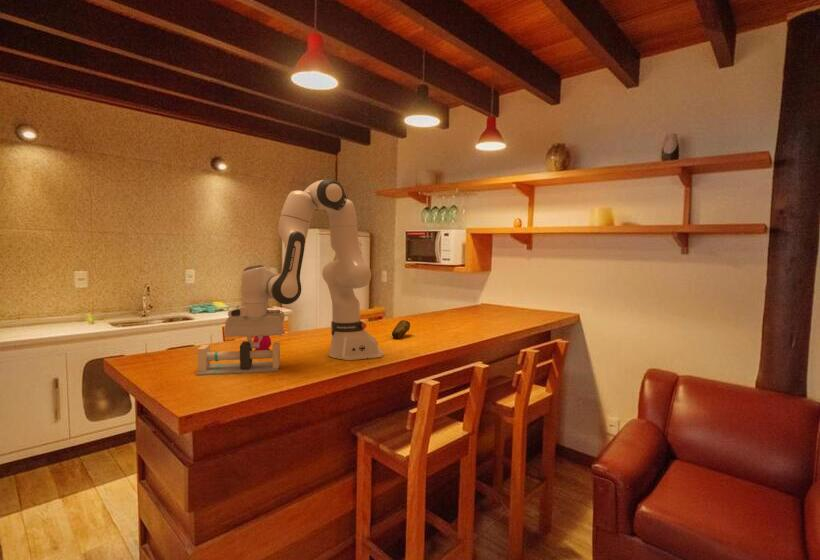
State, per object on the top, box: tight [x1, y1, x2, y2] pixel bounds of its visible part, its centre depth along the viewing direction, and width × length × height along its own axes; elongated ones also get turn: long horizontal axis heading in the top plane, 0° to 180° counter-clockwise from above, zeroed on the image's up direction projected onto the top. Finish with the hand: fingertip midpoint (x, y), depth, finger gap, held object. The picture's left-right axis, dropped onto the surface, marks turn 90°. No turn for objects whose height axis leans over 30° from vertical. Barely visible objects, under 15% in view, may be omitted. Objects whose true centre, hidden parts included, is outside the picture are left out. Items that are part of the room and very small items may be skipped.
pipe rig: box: [195, 341, 281, 376], centre depth 159 cm, size 27×12×9 cm, turn 102°
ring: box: [239, 340, 253, 369], centre depth 159 cm, size 3×8×8 cm, turn 12°
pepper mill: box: [252, 313, 272, 351], centre depth 181 cm, size 7×7×20 cm
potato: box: [391, 320, 411, 340], centre depth 218 cm, size 8×13×8 cm, turn 136°
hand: (255, 347), depth 159 cm, fingers closed
